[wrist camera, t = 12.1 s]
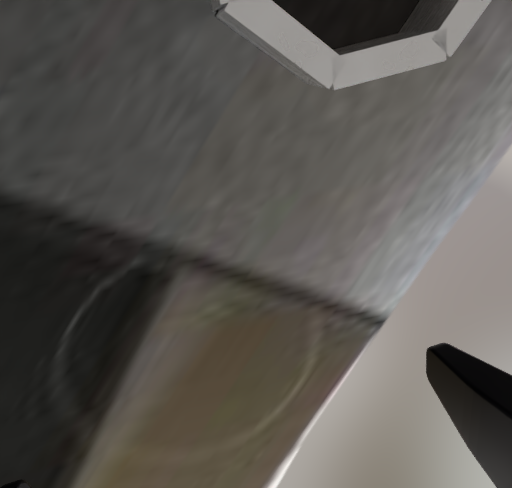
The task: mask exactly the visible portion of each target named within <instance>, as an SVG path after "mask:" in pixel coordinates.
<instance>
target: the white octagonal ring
mask: <svg viewBox="0 0 512 488" xmlns="http://www.w3.org/2000/svg"><path fill="white" fill-rule="evenodd" d="M490 2H491V0H420V1H419V3H418V4H417V6H416V7H415V9H414V10H413V12H412V13H411V15H410V16H409V18H408V19H407V21H406V22H405V24H404V25H403V27H402V28H401V30H400V31H399V33H396V34H392V35H388V36H384V37H380V38H376V39H372V40H368V41H364V42H360V43H357V44H353V45H349V46H345V47H341V48H337V49H333V50H332V49H331V48H330V47H329V46H328V45H326V44H325V43H324V42H323V41H321V40H320V39H319V38H318V37H316V36H315V35H314V34H313V33H311V32H310V31H309V30H308V29H307V28H305V27H304V26H303V25H302V24H300V23H299V22H298V21H297V20H295V19H294V18H293V17H292V16H290V15H289V14H288V13H287V12H286V11H284V10H283V9H282V8H281V7H279V6H278V5H277V4H276V3H274V2H273V1H272V0H210V4H211V9H212V11H216V10H218V12H217V14H216V16H215V17H217V18H218V19H219V20H221V21H222V22H223V23H225V24H226V25H227V26H229V27H230V28H232V29H233V30H234V31H236V32H237V33H238V34H240V35H241V36H242V37H244V38H245V39H246V40H248V41H249V42H251V43H252V44H253V45H255V46H256V47H257V48H259V49H260V50H261V51H263V52H264V53H266V54H267V55H268V56H270V57H271V58H272V59H274V60H275V61H276V62H278V63H279V64H280V65H282V66H283V67H285V68H286V69H287V70H289V71H290V72H291V73H293V74H294V75H295V76H297V77H298V78H299V79H301V80H302V81H304V82H305V83H307V84H311V85H315V86H319V87H322V88H326V89H332V90H337V89H340V88H344V87H348V86H352V85H355V84H359V83H363V82H367V81H371V80H374V79H378V78H382V77H386V76H390V75H393V74H397V73H401V72H405V71H409V70H412V69H416V68H420V67H424V66H427V65H431V64H435V63H439V62H443V61H446V57H451V56H452V55H453V53H454V52H455V50H456V49H457V48H458V46H459V45H460V43H461V42H462V41H463V39H464V38H465V36H466V35H467V34H468V32H469V31H470V30H471V28H472V27H473V25H474V24H475V23H476V21H477V20H478V18H479V17H480V16H481V14H482V13H483V11H484V10H485V9H486V7H487V6H488V5H489V3H490Z"/></svg>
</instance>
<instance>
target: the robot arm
mask: <svg viewBox="0 0 512 488" xmlns="http://www.w3.org/2000/svg"><path fill="white" fill-rule="evenodd" d="M426 359H427V360H426V373H427V377H428V380H429V382H430V384H431V386H432V387H433V389H434V391H435V393H436V394H437V396H438V398H439V399H440V401H441V403H442V405H443V406H444V408H445V410H446V411H447V413H448V415H449V416H450V418H451V420H452V422H453V423H454V425H455V427H456V428H457V430H458V432H459V433H460V435H461V437H462V438H463V440H464V442H465V443H466V445H467V447H468V448H469V449H470V451H471V452H472V454H473V455H474V457H475V458H476V460H477V461H478V462H479V464H480V465H481V466H482V468H483V469H484V471H485V472H486V473H487V475H488V476H489V478H490V479H491V480H492V482H493V483H494V484H495V486H496V487H497V488H512V375H510V374H508V373H506V372H504V371H502V370H500V369H498V368H496V367H494V366H492V365H490V364H487V363H486V362H484V361H482V360H480V359H478V358H476V357H474V356H472V355H470V354H468V353H466V352H464V351H462V350H460V349H458V348H456V347H454V346H452V345H450V344H446V343H440V344H437V345H434V346H431V347H429V348H428V349H427V352H426ZM0 488H32V487H31V486H30V484H29V483H28V482H27V481H25V480H18V481H14V482H11V483H8V484H5V485H3V486H2V487H0Z"/></svg>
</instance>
